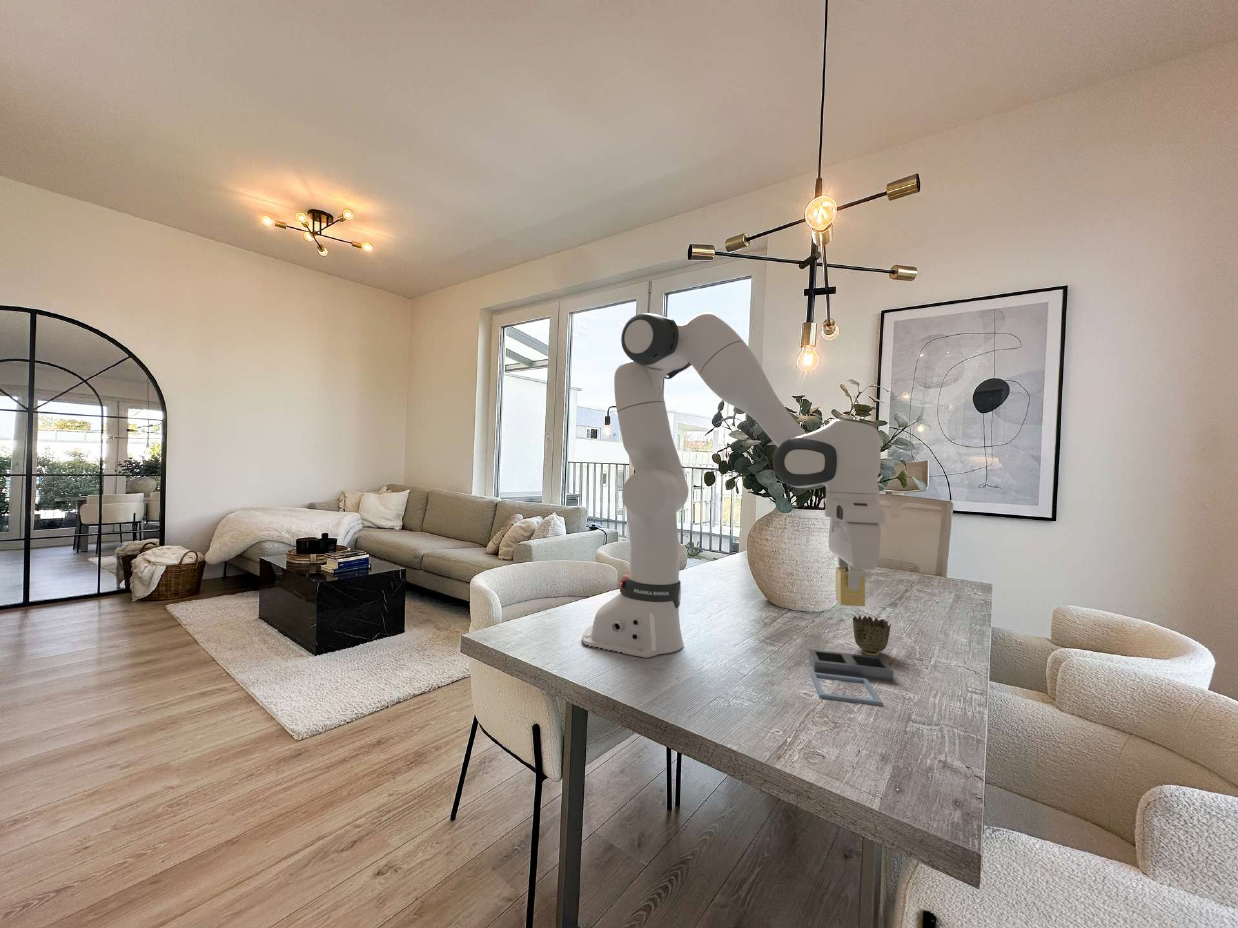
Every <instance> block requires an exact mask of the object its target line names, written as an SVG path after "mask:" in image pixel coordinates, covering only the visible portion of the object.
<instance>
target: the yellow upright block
mask: <svg viewBox="0 0 1238 928" xmlns="http://www.w3.org/2000/svg"><path fill="white" fill-rule="evenodd" d="M848 571H849V569H848V567H839V566H836V567H835V600H836V602H837V603H838V604H839V605H840V606H849V607H850V606H853V607H865V606H866V587H865V586H866V585H865V584H866V575H865V574H866V571H864V570H863V572H862V575H861V578H860V588H859V589H858V590H853V589H849V588H848V587H847V577H848Z"/></svg>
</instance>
